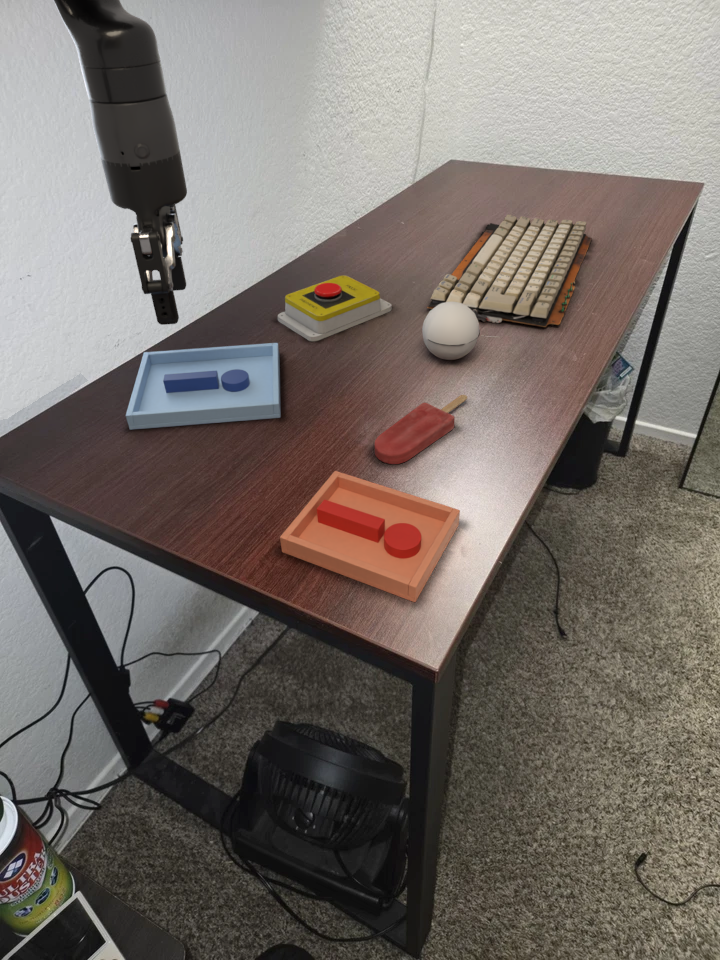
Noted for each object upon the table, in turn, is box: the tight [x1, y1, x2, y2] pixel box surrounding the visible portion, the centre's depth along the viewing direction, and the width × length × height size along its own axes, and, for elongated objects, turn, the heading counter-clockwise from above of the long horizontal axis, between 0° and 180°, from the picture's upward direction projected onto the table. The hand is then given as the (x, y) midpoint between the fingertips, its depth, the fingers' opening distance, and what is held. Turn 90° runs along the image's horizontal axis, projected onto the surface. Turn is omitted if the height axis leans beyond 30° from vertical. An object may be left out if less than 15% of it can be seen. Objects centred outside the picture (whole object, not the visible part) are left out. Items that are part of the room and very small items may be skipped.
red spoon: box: [317, 499, 421, 559], centre depth 61 cm, size 10×3×2 cm, turn 63°
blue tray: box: [125, 342, 282, 431], centre depth 81 cm, size 17×14×2 cm
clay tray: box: [279, 470, 461, 603], centre depth 61 cm, size 13×10×2 cm
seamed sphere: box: [421, 302, 499, 361], centre depth 84 cm, size 10×7×7 cm
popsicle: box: [374, 394, 468, 465], centre depth 74 cm, size 4×2×15 cm
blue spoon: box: [163, 369, 250, 393], centre depth 81 cm, size 10×3×2 cm, turn 96°
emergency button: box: [277, 274, 393, 342], centre depth 95 cm, size 9×4×15 cm
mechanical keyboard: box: [426, 213, 593, 328], centre depth 105 cm, size 38×19×3 cm, turn 158°
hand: (173, 305), depth 74 cm, fingers open, 8 cm apart
